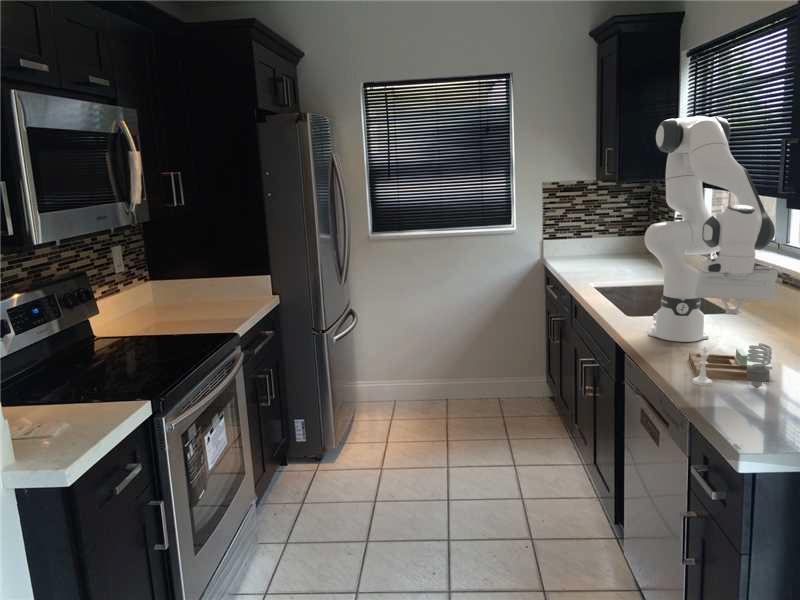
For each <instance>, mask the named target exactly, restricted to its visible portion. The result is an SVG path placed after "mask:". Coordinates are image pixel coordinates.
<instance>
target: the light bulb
mask: <svg viewBox="0 0 800 600" xmlns="http://www.w3.org/2000/svg"><path fill="white" fill-rule="evenodd" d="M748 348H749V349H748V350H747V356H748V357H750V358H748V359H747V360H748V361H750V362H757V363H762V364H753V365H752V366H748V367H747V378H748V379H749V380H751V382H750V384H751V385H752V386H753V387H754V388H756V389H758V388H761V387H762V386H763V383H765V381H767V380H768V378H769V379H770V375H769V374H771V373H770V370H771V369H768V368H766V365H769V364H771V363H772V356H773V348H772V346H770V345H768V344H765V343H761V342H759V343H758V345H753V344H751V345H749V346H748ZM757 358H762V360H761V359H757ZM765 362H767V363H765Z"/></svg>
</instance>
